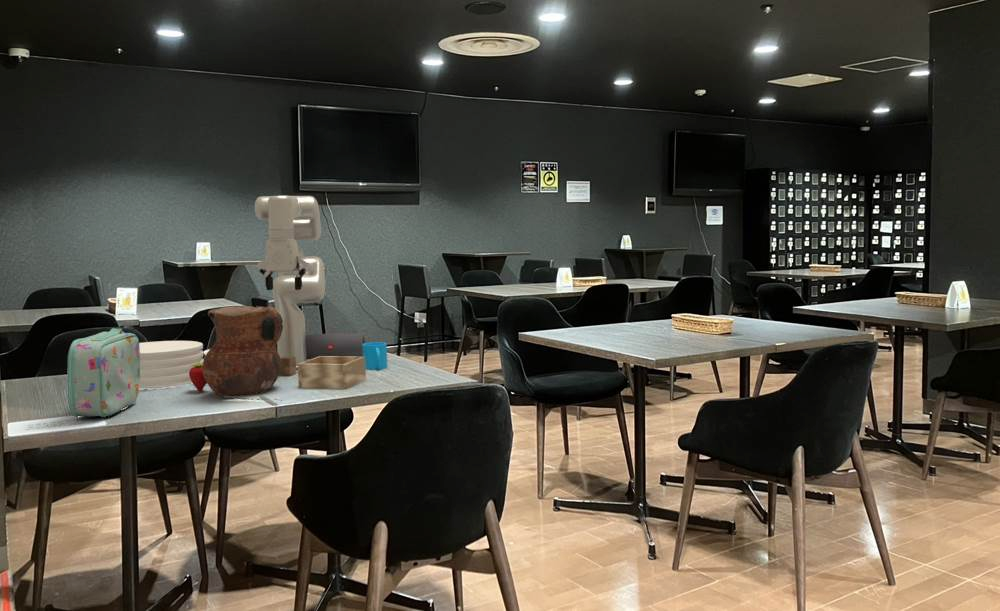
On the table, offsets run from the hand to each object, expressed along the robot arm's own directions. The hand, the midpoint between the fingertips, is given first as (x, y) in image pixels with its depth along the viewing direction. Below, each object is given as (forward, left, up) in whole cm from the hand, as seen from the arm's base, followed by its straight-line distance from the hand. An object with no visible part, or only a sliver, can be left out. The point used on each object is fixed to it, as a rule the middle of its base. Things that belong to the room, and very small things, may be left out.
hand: (284, 289), depth 263 cm
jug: (-1, -26, -28) cm, 39 cm away
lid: (0, 0, -29) cm, 29 cm away
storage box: (+21, -13, -28) cm, 37 cm away
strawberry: (-16, -24, -28) cm, 40 cm away
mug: (+22, +20, -28) cm, 41 cm away
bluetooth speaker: (+1, +34, -28) cm, 45 cm away
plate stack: (-39, -11, -29) cm, 50 cm away
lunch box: (-26, -52, -28) cm, 65 cm away
